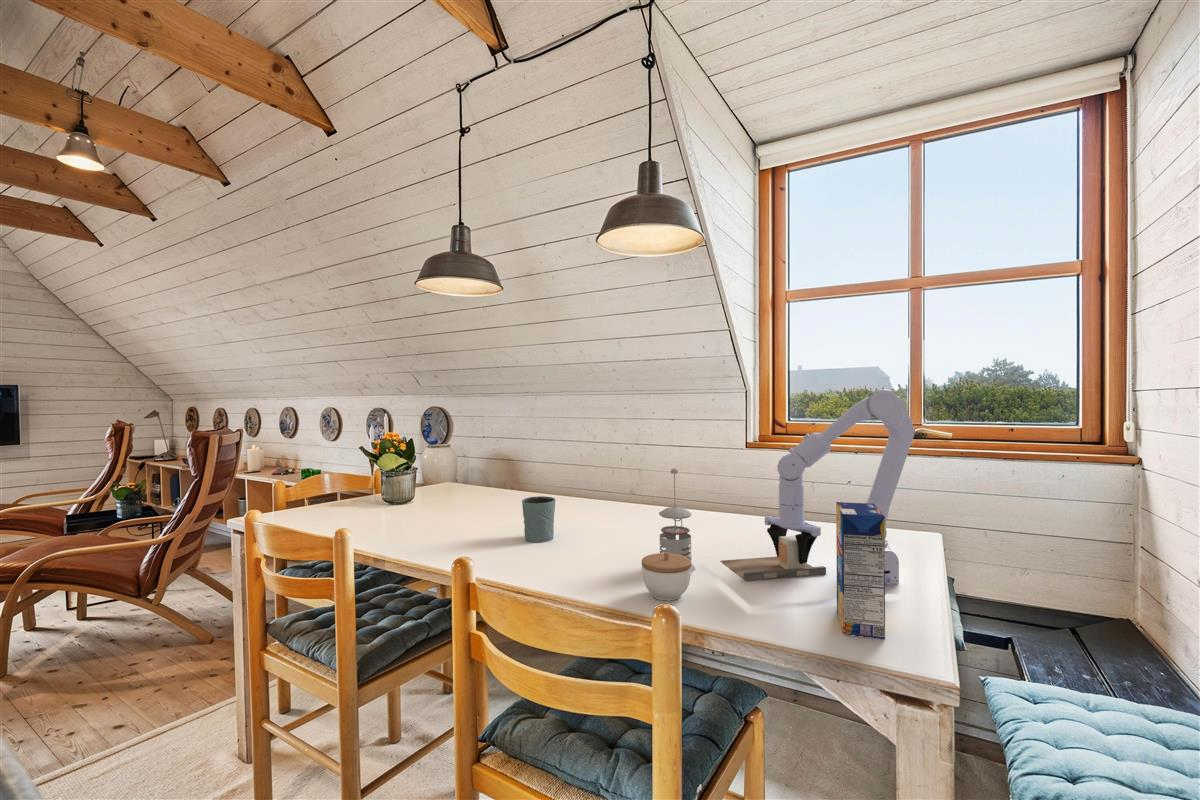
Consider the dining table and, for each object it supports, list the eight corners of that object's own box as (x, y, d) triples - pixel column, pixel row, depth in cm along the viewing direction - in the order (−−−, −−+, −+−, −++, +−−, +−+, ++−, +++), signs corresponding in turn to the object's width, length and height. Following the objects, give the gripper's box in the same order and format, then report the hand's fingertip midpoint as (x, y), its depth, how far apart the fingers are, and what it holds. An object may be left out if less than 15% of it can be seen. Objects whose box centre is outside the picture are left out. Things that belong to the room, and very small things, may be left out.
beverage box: (843, 635, 100) (842, 514, 100) (836, 611, 111) (836, 501, 110) (885, 639, 98) (884, 516, 98) (874, 615, 109) (874, 503, 108)
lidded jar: (672, 609, 113) (671, 563, 113) (631, 596, 120) (631, 553, 120) (701, 594, 121) (700, 551, 121) (661, 583, 128) (661, 543, 128)
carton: (795, 563, 137) (795, 535, 137) (805, 569, 133) (804, 540, 133) (777, 564, 136) (777, 536, 136) (786, 570, 132) (786, 541, 132)
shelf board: (826, 579, 129) (826, 567, 129) (745, 586, 125) (745, 574, 125) (792, 559, 144) (792, 549, 144) (719, 565, 140) (719, 554, 140)
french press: (652, 572, 136) (651, 470, 135) (660, 558, 147) (659, 464, 146) (693, 575, 133) (692, 471, 132) (698, 561, 144) (696, 465, 144)
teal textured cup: (547, 532, 175) (546, 494, 174) (561, 540, 166) (561, 500, 166) (517, 537, 169) (516, 498, 169) (530, 545, 161) (529, 504, 160)
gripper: (828, 506, 131) (828, 563, 131) (777, 497, 142) (777, 549, 143) (810, 510, 127) (810, 569, 127) (758, 500, 138) (759, 554, 139)
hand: (791, 559), depth 135 cm, fingers closed on carton, 6 cm apart
